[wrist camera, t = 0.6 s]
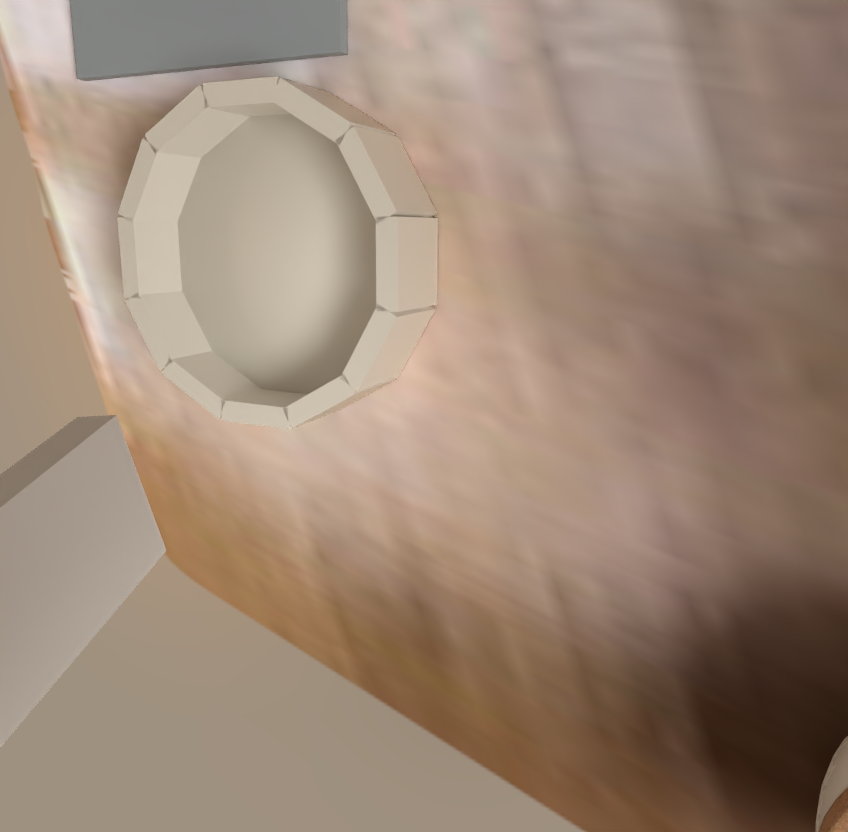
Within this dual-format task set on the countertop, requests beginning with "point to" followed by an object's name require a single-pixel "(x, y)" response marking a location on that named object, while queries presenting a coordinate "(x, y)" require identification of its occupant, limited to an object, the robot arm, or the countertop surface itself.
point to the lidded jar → (834, 794)
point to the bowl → (276, 251)
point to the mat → (201, 34)
